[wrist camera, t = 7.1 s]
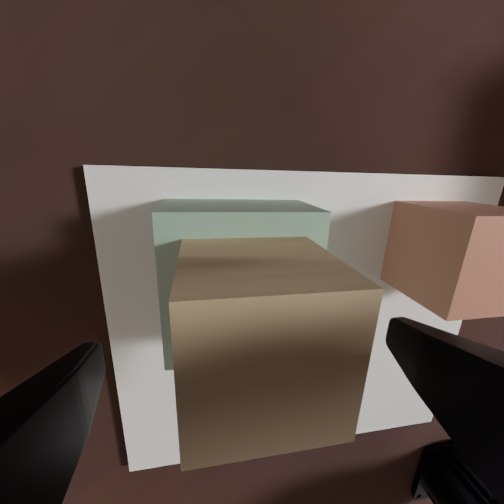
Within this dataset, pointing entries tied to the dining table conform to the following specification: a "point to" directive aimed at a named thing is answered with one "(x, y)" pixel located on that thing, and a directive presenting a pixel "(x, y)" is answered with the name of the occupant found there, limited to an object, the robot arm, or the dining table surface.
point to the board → (262, 188)
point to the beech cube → (267, 347)
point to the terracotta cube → (448, 257)
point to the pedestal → (224, 234)
